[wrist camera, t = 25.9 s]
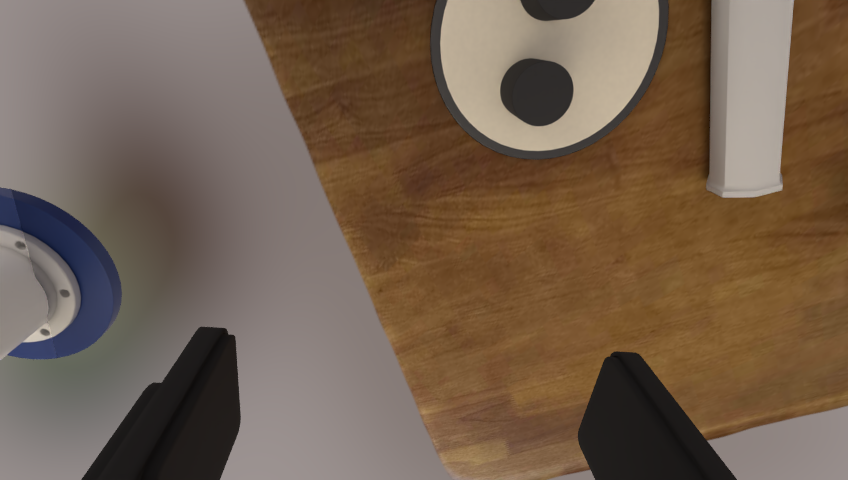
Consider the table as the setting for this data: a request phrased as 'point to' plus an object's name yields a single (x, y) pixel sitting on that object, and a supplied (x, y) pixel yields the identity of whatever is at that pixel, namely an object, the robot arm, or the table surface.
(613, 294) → the table surface
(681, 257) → the table surface
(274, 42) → the table surface
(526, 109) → the eye dot
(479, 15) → the face circle
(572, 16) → the eye dot
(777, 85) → the tube
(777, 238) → the table surface
